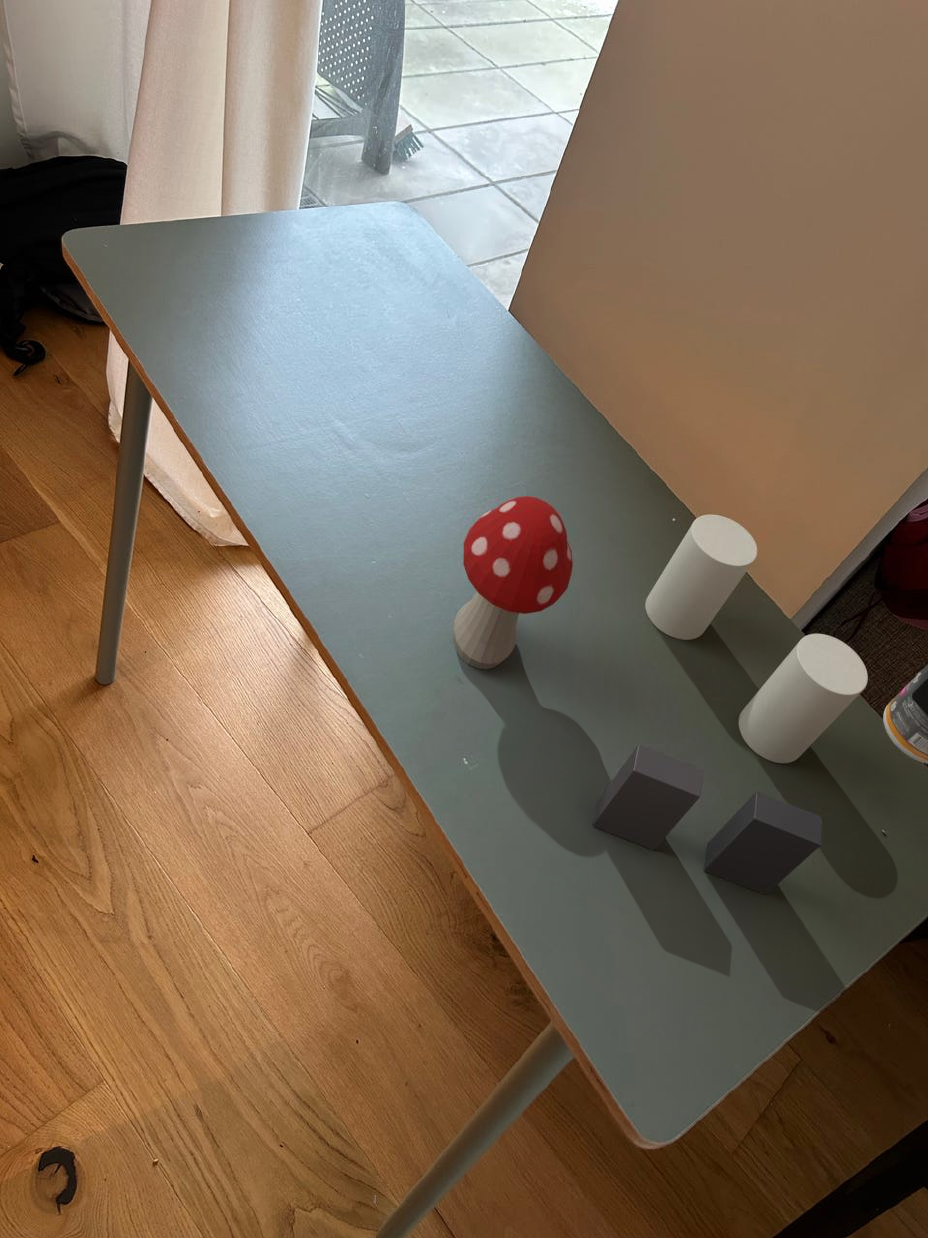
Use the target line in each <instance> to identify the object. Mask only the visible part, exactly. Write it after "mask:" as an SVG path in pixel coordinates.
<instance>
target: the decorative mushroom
mask: <svg viewBox="0 0 928 1238" xmlns="http://www.w3.org/2000/svg"><path fill="white" fill-rule="evenodd" d="M573 563H574V562H573V552H572V549H571V546H570V543H569V541H568V533H567V529H566V527H565V524H564V521H563V519H562V517H561V515H560V514H559V512H558V511H557V510H556V509H555V507H553V506H552V505H551V504H549V502H547V501H545V500H543V499H541V498H539V497H536V496H531V495H525V496H516V497H513V498H511V499H509V500H507V501H505V502H502V503H501V504H500V505H498V506H497V507H496V508H494V509H491V510H489V511H486V512H484V514H482V515H481V516H480V517H479V518H478V519H477V520H476V521H475V522H474V523H473V524H472V526H471V527H469V530H468V531H467V534H466V536H465V538H464V541H463V563H462V564H463V567H464V571H465V574H466V576H467V580H468V581H469V583H470V584H471V585H472V587H473V588H474V589H475V591H476V592H475V594H474V596H472V598H471V599H470V600H468V602H466V603H465V604H463V605H462V606H461V608H460V609H459V610H458V612H457V613H456V615H455V618H454V620H453V644H454V647H455V651H456V653H457V654H458V656H459V657H460V659H461V660H462V661H463V662H465V663H466V664H467V665H468V666H471V667H473V668H475V669H480V670H488V669H493V668H495V667H497V666H498V665H499V664H501V663H502V662H504V661H505V660H506V659H507V658H508V657H510V655H511V653H512V652H513V651H514V649H515V648H516V647H515V645H516V643H517V625H518V619H519V615H520V614H523V615H527V614H533V613H540V612H543V611H544V610H546V609H548V608H550V607H551V606H553V605H554V604H555V603H556V602H557V601H558V600H559V599H560V598H561V597H562V596H563V594H564V593H565V592H567V590H568V587H569V584H570V580H571V577H572V572H573V567H574V564H573Z"/></svg>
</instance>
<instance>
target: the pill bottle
mask: <svg viewBox="0 0 928 1238" xmlns="http://www.w3.org/2000/svg"><path fill="white" fill-rule="evenodd" d="M927 678H928V664H926V666H925V665H924V668H923V669H921V670H920V671H919V672H918V673H917V674H916V675H915V676H914V677H913V678H912V679H911V680H909V682H908V683H907V684H906V685H905V686H904V687H903V688H902V689H901V690H900V691H899V692H898V693H897V694H896V695H895V696H894V697H893V698H892V699H891V700H890V702H889V703H888V704H887V705H886V707H885V708H884V711H883V717H882V720H883V721H882V722H883V727H884V730H885V732H886V733H887V737H888V738H889V739H890V740H891V742H892V743H893V744H894V745H895V746H896V747H897V749H899V750H900V751H901V752H902V753H903V754H905V755H906V756H908V757H909V758H911V759H913V760H915V761H917V762H920V763H923V764H927V765H928V715H927V714H926V713H925V712H924V711H923V710H922V709H921V708H920V707H919V706H918V705H917V704H916V703H915V701H914V700H913V699H912V693H913V692H914V691H915V690H916V689H917V688H918V687H919V686H920V685H921V684H922V683H923V682H924V681H925V680H926V679H927Z"/></svg>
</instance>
